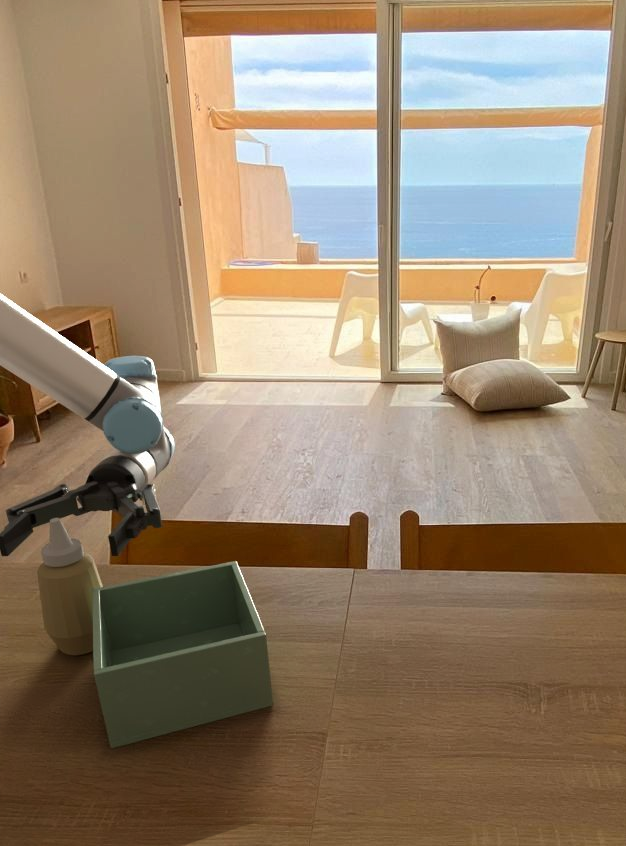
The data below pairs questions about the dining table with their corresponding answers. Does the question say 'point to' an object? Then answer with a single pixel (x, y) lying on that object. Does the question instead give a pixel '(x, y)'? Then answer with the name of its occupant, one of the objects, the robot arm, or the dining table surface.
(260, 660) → the storage bin
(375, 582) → the dining table surface
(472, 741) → the dining table surface
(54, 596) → the squeeze bottle
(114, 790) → the dining table surface
